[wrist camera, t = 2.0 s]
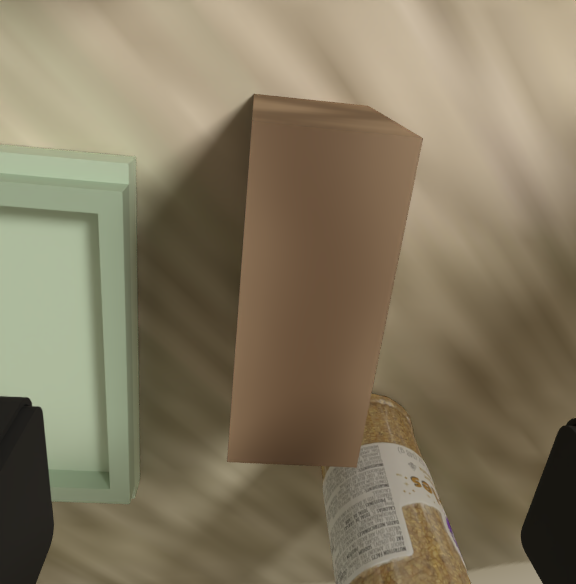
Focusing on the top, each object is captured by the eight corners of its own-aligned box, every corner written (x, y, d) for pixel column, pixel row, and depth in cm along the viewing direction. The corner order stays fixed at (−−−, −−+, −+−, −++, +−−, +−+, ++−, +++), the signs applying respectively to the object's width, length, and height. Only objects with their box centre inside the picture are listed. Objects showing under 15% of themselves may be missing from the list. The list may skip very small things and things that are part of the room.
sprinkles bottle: (426, 440, 25) (582, 809, 13) (341, 482, 26) (414, 866, 14) (382, 371, 24) (515, 723, 11) (292, 418, 24) (328, 794, 12)
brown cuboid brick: (368, 105, 19) (423, 138, 13) (329, 350, 23) (356, 467, 17) (254, 93, 19) (251, 121, 12) (235, 344, 23) (227, 462, 16)
